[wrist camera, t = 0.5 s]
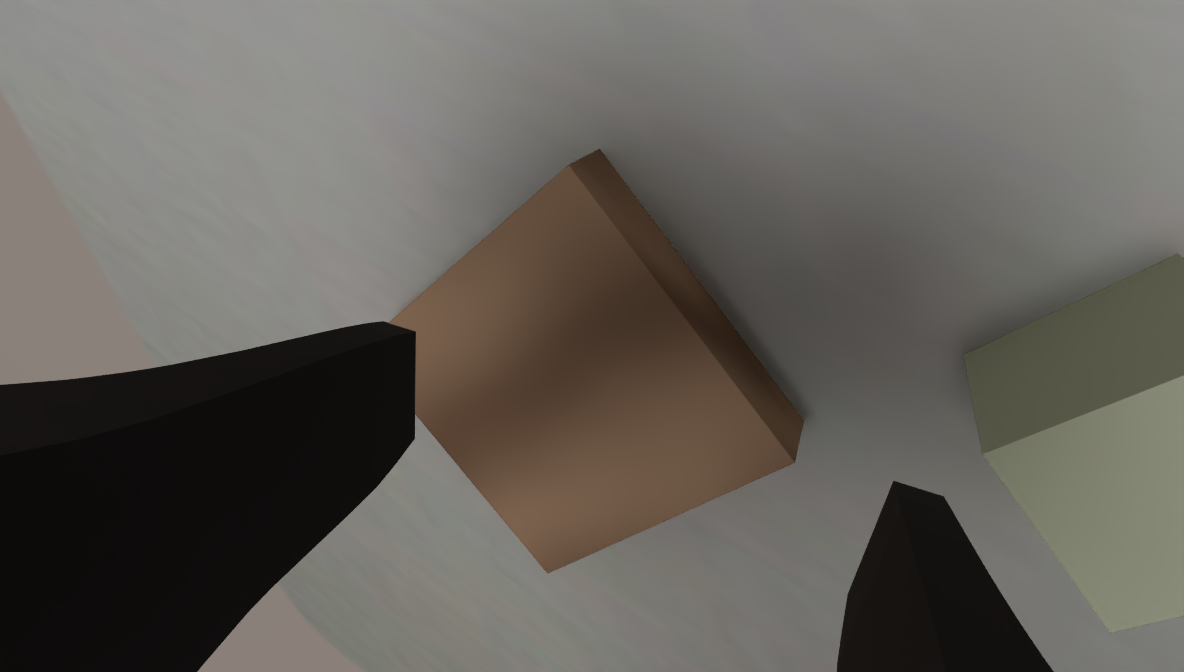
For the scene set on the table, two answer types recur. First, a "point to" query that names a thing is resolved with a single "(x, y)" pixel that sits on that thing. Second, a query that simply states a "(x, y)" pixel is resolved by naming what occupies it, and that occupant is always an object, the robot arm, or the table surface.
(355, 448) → the robot arm
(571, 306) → the walnut base block
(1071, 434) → the sage cube
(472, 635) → the table surface
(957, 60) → the table surface
